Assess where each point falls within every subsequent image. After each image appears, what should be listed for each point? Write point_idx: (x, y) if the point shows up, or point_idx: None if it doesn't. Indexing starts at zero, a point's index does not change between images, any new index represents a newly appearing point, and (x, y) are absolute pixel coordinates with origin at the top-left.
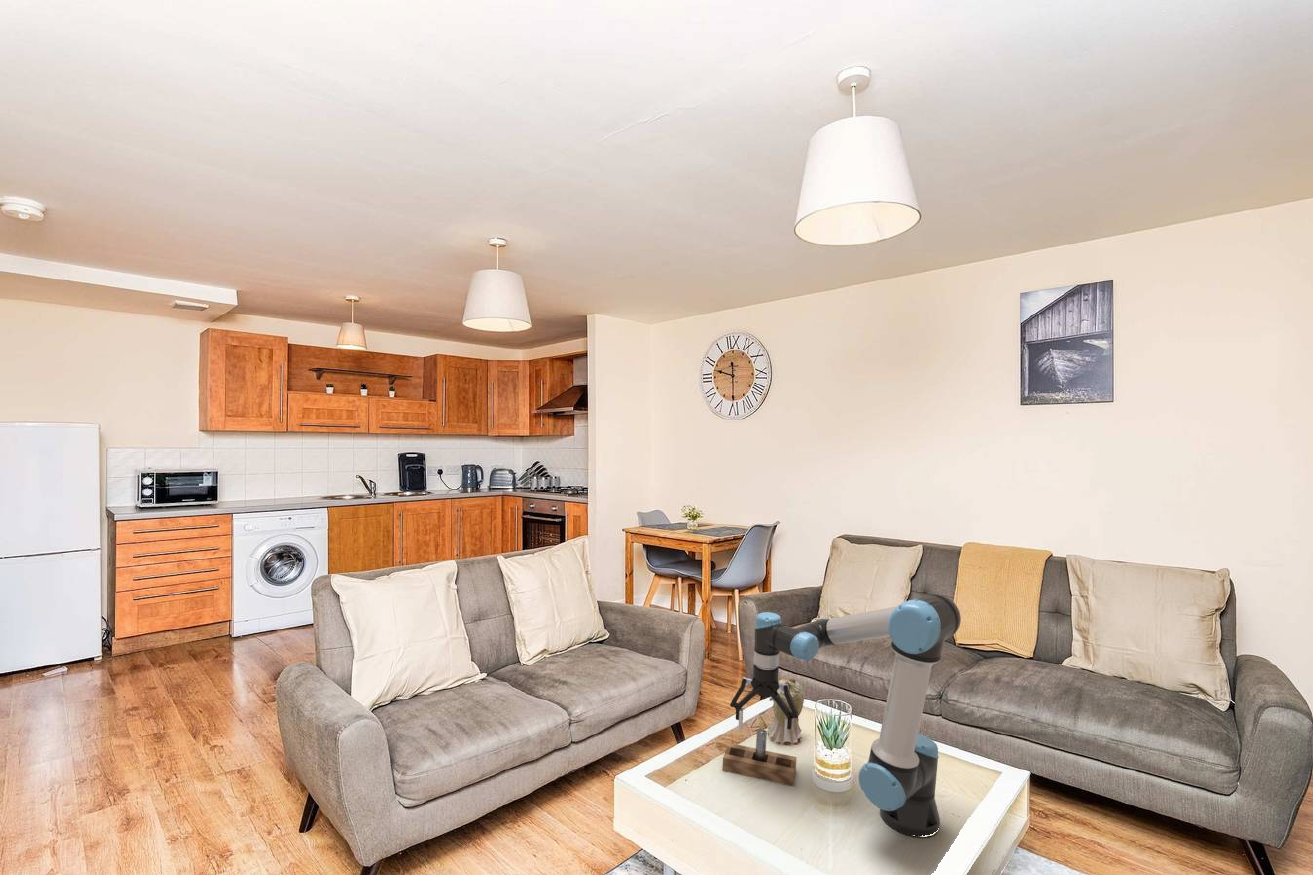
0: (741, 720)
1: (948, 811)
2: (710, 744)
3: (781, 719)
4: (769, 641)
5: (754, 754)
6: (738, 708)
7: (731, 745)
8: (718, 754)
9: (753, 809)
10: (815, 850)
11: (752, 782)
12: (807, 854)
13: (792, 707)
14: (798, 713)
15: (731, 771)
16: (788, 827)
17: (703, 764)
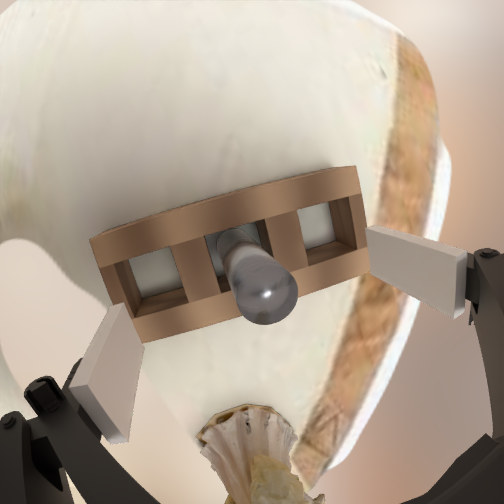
0: (409, 243)
1: None
2: None
3: (258, 464)
4: None
5: None
6: (485, 253)
7: (360, 260)
8: None
9: (166, 40)
10: (7, 33)
11: (223, 160)
12: (21, 12)
13: (4, 480)
14: (228, 501)
15: (307, 173)
16: (63, 44)
17: (385, 166)
